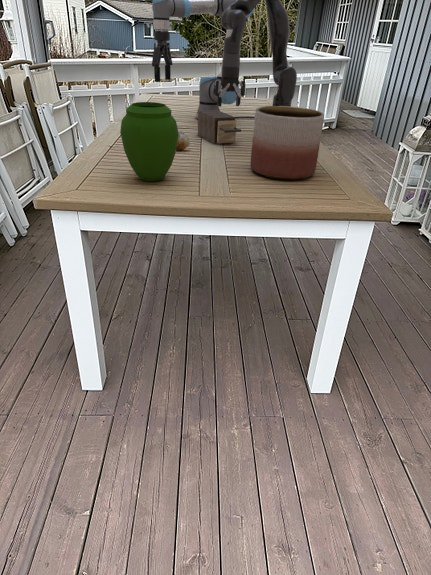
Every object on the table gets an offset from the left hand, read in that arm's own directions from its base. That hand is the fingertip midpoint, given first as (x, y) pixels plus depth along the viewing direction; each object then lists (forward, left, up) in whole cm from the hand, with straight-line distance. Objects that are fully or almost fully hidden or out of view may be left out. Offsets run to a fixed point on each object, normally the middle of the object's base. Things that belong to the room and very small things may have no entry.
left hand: (162, 80), depth 205 cm
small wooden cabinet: (-19, +25, -24) cm, 39 cm away
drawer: (-20, +32, -22) cm, 43 cm away
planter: (-24, +84, -24) cm, 90 cm away
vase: (+28, +80, -24) cm, 88 cm away
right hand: (-19, +40, -6) cm, 44 cm away
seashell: (+5, +43, -24) cm, 49 cm away
